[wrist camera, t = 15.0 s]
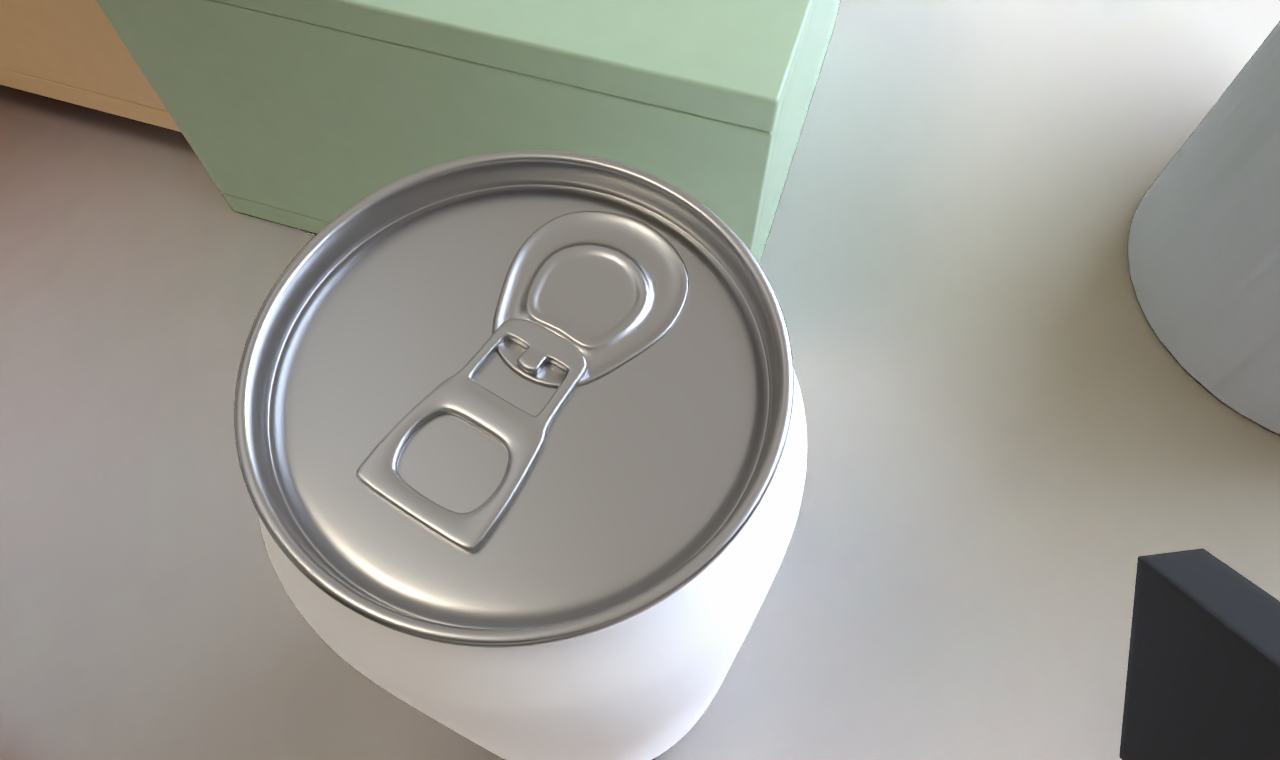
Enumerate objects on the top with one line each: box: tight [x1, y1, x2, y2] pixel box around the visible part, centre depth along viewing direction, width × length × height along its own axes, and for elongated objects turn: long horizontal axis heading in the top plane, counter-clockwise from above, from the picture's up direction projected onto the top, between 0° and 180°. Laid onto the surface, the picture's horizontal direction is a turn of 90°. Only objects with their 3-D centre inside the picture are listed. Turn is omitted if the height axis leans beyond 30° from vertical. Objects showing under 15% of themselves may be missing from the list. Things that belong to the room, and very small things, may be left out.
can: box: [234, 150, 807, 760], centre depth 14 cm, size 6×6×12 cm
